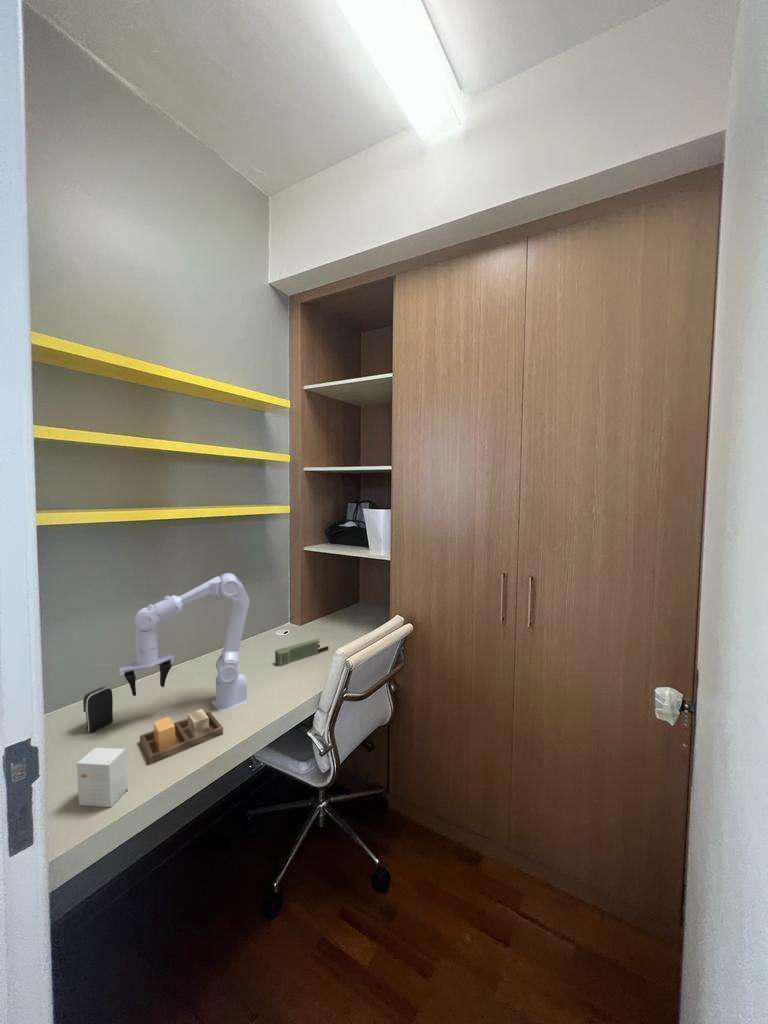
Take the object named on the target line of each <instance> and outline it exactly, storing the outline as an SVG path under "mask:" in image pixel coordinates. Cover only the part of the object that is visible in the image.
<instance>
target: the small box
mask: <svg viewBox="0 0 768 1024" xmlns="http://www.w3.org/2000/svg"><path fill="white" fill-rule="evenodd" d="M126 752H127V751H126V748H113V747H110V748H109V747H95V748H93V749H92V750H91V751H89V753H86V755H85V756H84V757H83V758H81V759H80V760H79V761H77V762H76V774H77V791H78V805H79V806H86V807H87V806H88V807H102V808H103V807H104V808H112V807H113V806H114V805H115V804H116V802H117V801H118V800H119V799H120V798H121V797H122V795H124V794H125V792H127V790H128V786H129V785H128V770H127V769H128V767H127V753H126Z"/></svg>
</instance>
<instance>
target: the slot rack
mask: <svg viewBox="0 0 768 1024" xmlns="http://www.w3.org/2000/svg"><path fill="white" fill-rule="evenodd" d="M204 712H205V713H206V715H207V716H208V717H209V731H208V732H206V733H204V734H201V735H199V736H196V737H194V738H193V736H192V735H191V733H190V732H189V730H188V717H187V718H183V719H181V720H178V721H176V722H173V724H174V725H175V743H176V745H174V746H171V747H169V748H167V749H164V750H162V751H158V749H157V747H156V745H155V743H154V730H151V731H149V732H146V733H143V734H140V735H139V744H140V746H141V749H142V750H143V753H144V755H145V757H146V760H147V761H148V764H149V766H151V765H153V764H156V763H158V762H160V761H163V760H165V759H167V758H171V757H173V756H175V755H177V754H179V753H182V752H184V751H187V750H189V749H191V748H193V747H196V746H199V745H202V744H204V743H206V742H209V741H210V740H213V739H216V738H218V737H220V736H223V735H224V727H223V726H222V725H221V724H220V722H219V721H218V720H217V718H216V717H215V716H214V715H213V714H212V712H211V711H210V710H206V711H205V710H204Z"/></svg>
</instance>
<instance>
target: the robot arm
mask: <svg viewBox="0 0 768 1024" xmlns="http://www.w3.org/2000/svg"><path fill="white" fill-rule="evenodd" d="M220 593H221V595H222V596H223V597H225V598H227V600H230V601H231V602H232V603H233V607H232V610H231V615H230V619H229V622H228V626H227V627H228V628H227V633H226V636H225V641H224V646H223V649H222V650H221V651H220V652H221V653H220V656H219V657H218V658H217V660H216V662H215V668H216V669H217V675H216V677H215V699H214V700H212V701H211V703H212V705H213V706H214V707H215V709H217V710H218V712H220V713H222V712H225V711H227V710H229V709H232V708H234V707H237V706H239V705H243V704H245V703H247V702H248V689H247V688H248V685H247V684H248V683H247V679H246V676H245V674H244V673H239V672H240V671H239V668H238V665H239V651H240V648H241V647H240V646H241V642H242V637H243V633H244V628H245V624H246V619H247V615H248V611H249V608H250V602H251V601H250V600H251V599H250V597H249V596H248V594H247V593H248V592H247V591H246V589H245V586H244V585H243V583H242V582H241V580H240V578H238V577H237V576H236V575H235V574H234V573H232V572H226V573H223V574H221V575H218V576H215V577H213V578H211V579H209V580H208V581H206V582H204V583H202V584H200V585H198V586H196V587H194V588H192V589H191V590H189V591H188V592H186V593H183V594H182V595H179V596H178V595H174V594H173V595H171V596H170V595H166V596H164V599H163V600H160V601H158V602H156V603H154V604H152V603H150V604H149V605H148V607H146V606H145V607H143V608H141V609H140V610H138V611H137V612H136V615H135V619H134V622H133V623H134V624H133V625H134V627H135V633H136V634H135V651H136V652H135V653H136V654H135V655H136V656H135V657H136V658H135V659H136V660H135V661H134V662H131V663H129V664H126V665H123V666H120V667H118V674H119V676H120V677H123V676H124V678H125V679H126V681H127V682H128V684H129V686H130V690H131V694H132V696H133V697H135V696H137V689H136V674H135V673H136V672H137V671H140V670H144V669H148V668H152V667H155V666H159V685H160V687H161V688H165V685H166V679H167V677H168V674H169V672H170V670H171V669H172V663H173V662H175V655H174V654H173V653H169V654H164V655H159V645H158V644H159V643H158V640H159V639H158V631H157V623H161V622H163V621H165V620H167V619H169V618H171V617H173V616H175V615H177V614H179V613H181V612H182V611H183V608H184V606H187V605H189V604H191V603H193V602H195V601H198V600H200V599H202V598H204V597H206V596H208V595H209V596H216V597H220Z"/></svg>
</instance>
